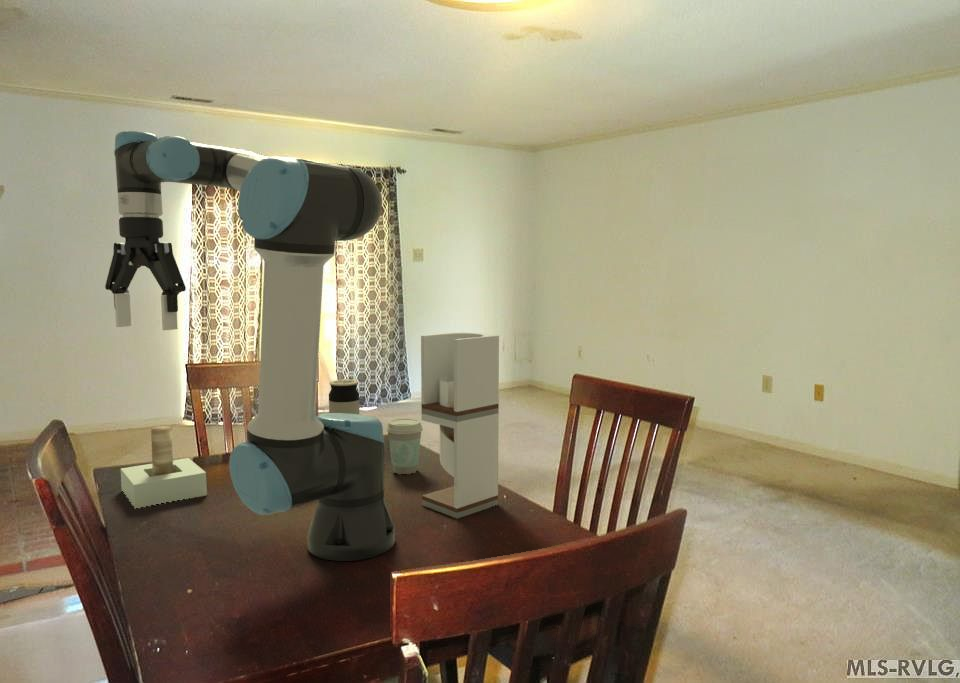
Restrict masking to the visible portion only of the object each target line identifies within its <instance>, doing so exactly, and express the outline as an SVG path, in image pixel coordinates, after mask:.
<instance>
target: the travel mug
mask: <svg viewBox="0 0 960 683" xmlns="http://www.w3.org/2000/svg"><path fill="white" fill-rule="evenodd" d="M358 383H359V381H358V380H356V379H336V380H335V379H334V380H331V381H329V386H330V391H329V393H328V413H347V414H359V415H360V392H359V390H358V389H357V386H358Z"/></svg>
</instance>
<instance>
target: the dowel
mask: <svg viewBox="0 0 960 683" xmlns="http://www.w3.org/2000/svg"><path fill="white" fill-rule="evenodd" d="M172 432H173V429H172V427H171V426H170V425H169V426H168V425H163V426H162V425H161V426H155V427H151V428H150V434H151V435H150V436H151V460H152V461H151V464H152V469H153V476H159V475H165V474H171V473H173V460H174V458H173V457H174V456H173V433H172Z"/></svg>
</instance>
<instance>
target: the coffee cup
mask: <svg viewBox="0 0 960 683" xmlns="http://www.w3.org/2000/svg"><path fill="white" fill-rule="evenodd" d="M385 431H386V432H387V435H388V443H389V444H388V445H389V451H390V453H389V454H390V459H391V461H390V462H391V466H392V467H391V469H392V473H394V474H395V473H397V475H401V474H407V475H412V474H411V473H413V474H416V473H417V472H418V466H419V456H420V448H421V447H420V446H421V437H422V431H423V425H422V424H421V421H420V420H419V419H415V418H397V419H396V418H395V419H391V420H390V421H388V424H387V427H386V430H385ZM416 471H417V472H416Z"/></svg>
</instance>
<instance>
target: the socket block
mask: <svg viewBox="0 0 960 683" xmlns="http://www.w3.org/2000/svg"><path fill="white" fill-rule="evenodd" d="M120 482H121V486H120V487H121V492H122V491H123V492H124V493H123V492H122V493H123V495H124V494H125V495H126V496H125V495H124V496H125V497H126V499H127V498H128V499H129V500H128V499H127V500H128V501H129V503H130V502H131V503H130V504H131V506H132V507H133V506H134V507H133V508H134V510H137V509H136V508H138V509H142V508H141V507H143V508H147V507H146V506H148V507H152V506H151V505H154V506H157V505H156V504H159V505H162V504H161V503H164V504H167V503H166V502H169V503H173V502H172V501H175V502H178V501H177V500H180V501H184V500H183V499H185V500H190V499H194V498H195V497H196V498H200V497H205V496H207V495H208V489H207V488H208V487H207V484H208V483H207V472H206V471H205V470H204V469H202V468H201V467H200V466H199V465H198V464H197V463H195V462H194V461H193V460H192V459H190V458H189V457H186V458H180V459H173V473H171V474H165V475H159V476H153V469H152V463H147V464H141V465H140V464H139V465H134V466H129V467H122V468H120ZM189 498H190V499H189Z"/></svg>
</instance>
